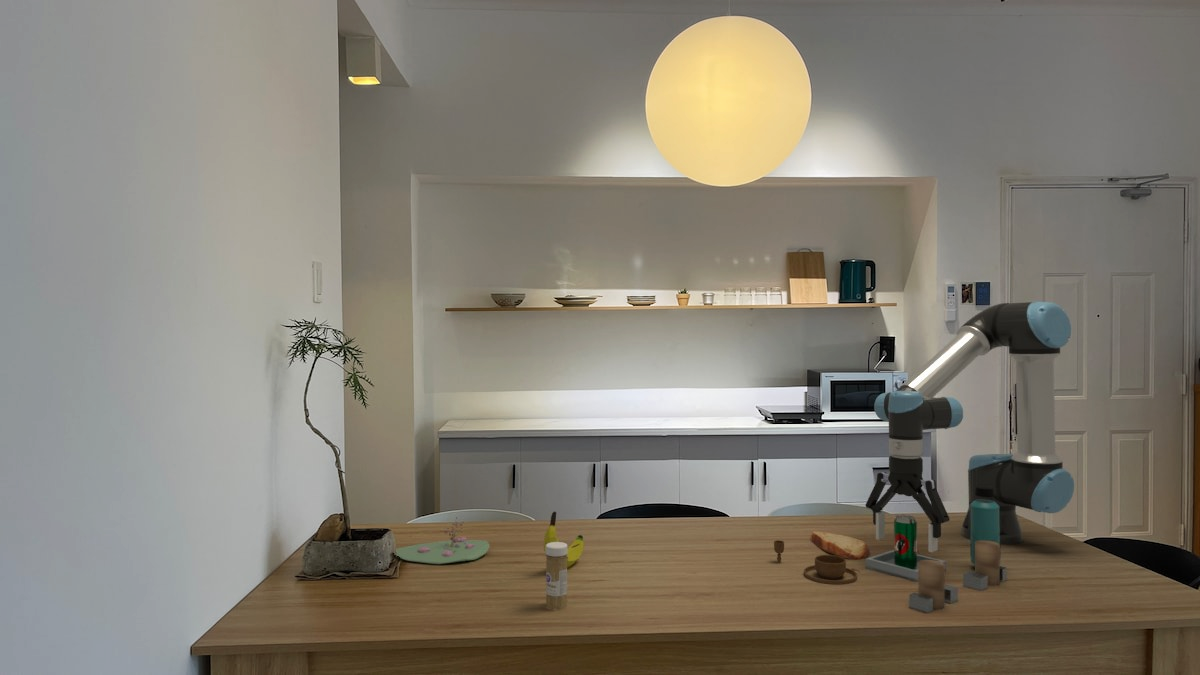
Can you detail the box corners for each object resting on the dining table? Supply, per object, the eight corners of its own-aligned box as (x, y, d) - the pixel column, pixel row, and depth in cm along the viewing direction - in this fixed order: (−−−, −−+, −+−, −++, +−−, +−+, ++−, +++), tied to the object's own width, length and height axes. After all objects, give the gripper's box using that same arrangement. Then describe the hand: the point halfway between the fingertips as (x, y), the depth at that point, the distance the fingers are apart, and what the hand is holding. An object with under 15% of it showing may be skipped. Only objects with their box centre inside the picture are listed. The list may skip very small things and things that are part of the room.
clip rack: (989, 576, 180) (989, 563, 180) (1006, 580, 177) (1006, 567, 177) (909, 609, 159) (909, 594, 159) (927, 614, 156) (927, 599, 156)
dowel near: (926, 600, 164) (926, 558, 164) (949, 607, 160) (949, 563, 160) (913, 605, 161) (913, 562, 161) (936, 612, 157) (936, 568, 157)
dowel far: (981, 577, 179) (981, 539, 179) (1003, 583, 175) (1003, 543, 175) (970, 582, 176) (970, 542, 176) (993, 588, 172) (992, 547, 172)
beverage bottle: (1004, 575, 181) (1004, 489, 180) (973, 573, 182) (973, 488, 182) (995, 566, 187) (996, 484, 187) (966, 565, 188) (966, 483, 188)
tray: (895, 559, 194) (895, 549, 194) (945, 571, 183) (945, 561, 183) (865, 568, 186) (865, 558, 186) (916, 582, 175) (916, 571, 175)
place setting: (806, 591, 172) (805, 564, 172) (769, 564, 192) (769, 540, 192) (877, 585, 175) (877, 559, 175) (834, 559, 195) (834, 536, 195)
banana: (589, 560, 194) (589, 500, 194) (557, 580, 178) (556, 515, 178) (573, 558, 196) (573, 498, 195) (539, 578, 180) (539, 513, 180)
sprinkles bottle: (541, 609, 160) (540, 544, 159) (556, 603, 163) (556, 539, 163) (557, 614, 157) (556, 548, 156) (572, 608, 160) (572, 543, 160)
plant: (390, 568, 189) (390, 531, 189) (392, 545, 209) (392, 512, 209) (493, 560, 195) (492, 525, 195) (485, 539, 215) (485, 507, 215)
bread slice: (814, 536, 216) (814, 523, 216) (880, 546, 206) (880, 532, 206) (791, 552, 201) (791, 538, 201) (862, 564, 191) (862, 549, 191)
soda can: (919, 570, 182) (918, 519, 181) (896, 569, 182) (896, 518, 182) (914, 564, 186) (914, 514, 186) (892, 563, 187) (892, 513, 187)
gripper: (850, 451, 192) (851, 536, 192) (948, 464, 172) (948, 559, 172) (868, 448, 196) (868, 531, 197) (965, 461, 177) (965, 553, 177)
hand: (906, 544), depth 185 cm, fingers open, 13 cm apart
